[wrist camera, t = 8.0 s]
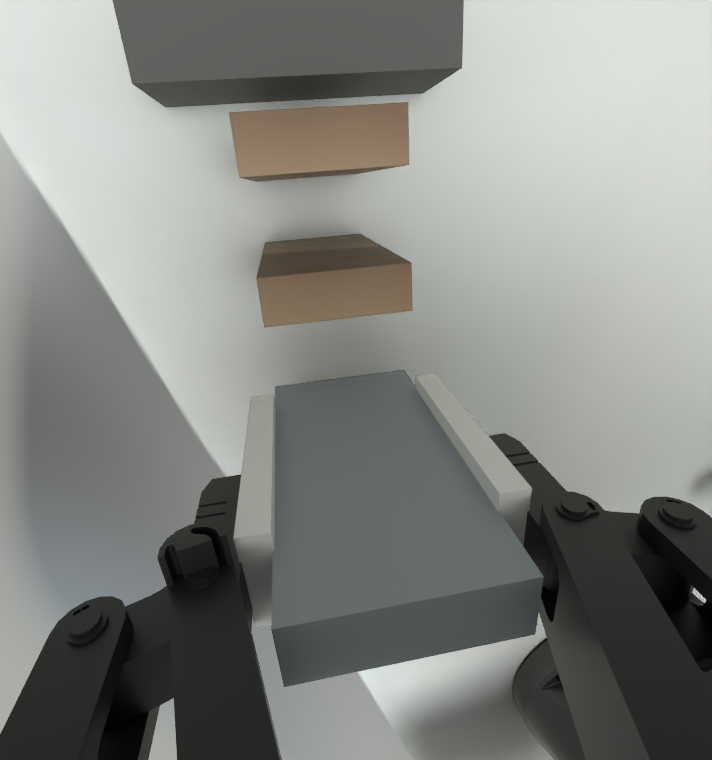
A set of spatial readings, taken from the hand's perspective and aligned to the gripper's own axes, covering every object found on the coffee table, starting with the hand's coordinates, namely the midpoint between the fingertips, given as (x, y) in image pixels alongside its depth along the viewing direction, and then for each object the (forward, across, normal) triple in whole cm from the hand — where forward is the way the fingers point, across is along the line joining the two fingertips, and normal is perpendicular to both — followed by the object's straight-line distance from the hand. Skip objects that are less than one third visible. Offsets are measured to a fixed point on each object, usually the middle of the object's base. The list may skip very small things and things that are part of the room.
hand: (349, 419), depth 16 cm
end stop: (+11, 0, -13) cm, 17 cm away
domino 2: (+11, 0, -4) cm, 11 cm away
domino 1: (+11, 0, -9) cm, 14 cm away
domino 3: (+2, 0, 0) cm, 2 cm away
